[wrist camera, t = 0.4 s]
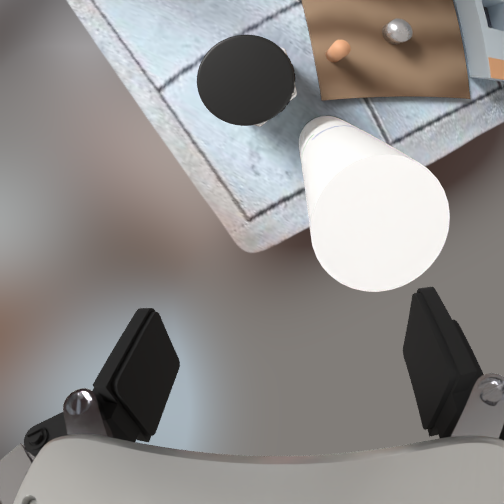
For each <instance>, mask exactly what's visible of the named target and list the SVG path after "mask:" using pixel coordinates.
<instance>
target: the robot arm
mask: <svg viewBox="0 0 504 504" xmlns="http://www.w3.org/2000/svg"><path fill="white" fill-rule="evenodd" d="M403 355H404V359H405V362H406V365H407V369H408V372H409V376H410V379H411V383H412V386H413V390H414V393H415V397H416V401H417V405H418V409H419V413H420V417H421V421H422V425H423V428H424V429H428V432H429V436H434V435H438V434H439V437H440V439H435V440H430V441H423V442H419V443H413V444H408V445H402V446H396V447H389V448H382V449H376V450H368V451H359V452H351V453H339V454H327V455H311V456H310V455H309V456H246V455H228V454H215V453H204V452H195V451H186V450H179V449H172V448H165V447H158V446H153V445H147V444H141V443H136V442H135V441H136V439H137V440H140V441H145V442H149V440H150V438H151V436H152V435H154V434H155V433H156V430H157V427H158V424H159V422H160V419H161V416H162V413H163V411H164V408H165V405H166V402H167V400H168V397H169V394H170V392H171V389H172V386H173V384H174V381H175V378H176V375H177V373H178V370H179V367H180V362H179V358H178V357H177V354H176V352H175V350H174V347H173V345H172V343H171V341H170V338H169V336H168V334H167V331H166V329H165V327H164V324H163V322H162V320H161V317H160V315H159V313H158V312H155V310H154V309H152V308H141V309H138V310H137V311H136V313H135V314H134V316H133V318H132V319H131V321H130V322H129V324H128V326H127V328H126V329H125V331H124V332H123V334H122V336H121V337H120V339H119V341H118V342H117V344H116V346H115V347H114V349H113V351H112V353H111V354H110V356H109V357H108V359H107V361H106V363H105V364H104V366H103V368H102V370H101V371H100V373H99V375H98V377H97V378H96V380H95V382H94V384H93V386H94V389H93V391H91V390H89V389H86V388H82V389H78V390H75V391H74V392H72V393H71V394H70V395H69V396H68V397H67V398H66V400H65V402H64V404H63V412H62V413H60V414H58V415H56V416H54V417H52V418H50V419H48V420H45V421H43V422H41V423H39V424H37V425H35V426H33V427H32V428H30V430H29V431H28V432H27V434H26V435H25V439H24V445H22V444H19V445H18V446H17V447H16V448H15V449H13V450H12V451H11V452H10V453H8V454H7V455H6V456H5V457H4V458H2V459H1V460H0V500H1V502H2V504H504V377H503V376H501V375H499V374H494V373H489V374H485V375H483V372H482V370H481V368H480V366H479V364H478V362H477V360H476V357H475V355H474V353H473V351H472V349H471V347H470V345H469V343H468V341H467V339H466V337H465V335H464V333H463V332H462V330H461V328H460V326H459V324H458V323H457V321H455V320H452V319H451V317H450V315H449V313H448V312H447V310H446V308H445V306H444V304H443V302H442V301H441V299H440V297H439V295H438V294H437V292H436V290H435V289H434V287H427V288H420V289H418V290H417V293H414V294H413V296H412V302H411V308H410V314H409V320H408V325H407V331H406V336H405V341H404V346H403Z"/></svg>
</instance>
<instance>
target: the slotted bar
mask: <svg viewBox="0 0 504 504" xmlns="http://www.w3.org/2000/svg"><path fill="white" fill-rule="evenodd" d="M455 3H456V7H457V11H458V15H459V19H460V24H461V28H462V33H463V38H464V43H465V48H466V54H467V60H468V67H469V74H470V77H472V78H480V79H488V80H495V81H501V82H504V0H455ZM483 7H487V10H488V14H489V18H490V22H491V26H492V28H489V27H488V24H487V20H486V16H485V12H484V8H483Z"/></svg>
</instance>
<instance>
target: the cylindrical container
mask: <svg viewBox="0 0 504 504" xmlns="http://www.w3.org/2000/svg"><path fill="white" fill-rule="evenodd" d="M299 151H300V158H301V165H302V171H303V178H304V185H305V192H306V200H307V207H308V215H309V223H310V231H311V239H312V246H313V248H314V251H315V254H316V257H317V259H318V260H319V262H320V264H321V265H322V267H323V268H324V269H325V270H326V271H327V272H328V274H329V275H330V276H332V277H333V278H334V279H336V280H337V281H338V282H340V283H342V284H344V285H346V286H348V287H350V288H353V289H358V290H362V291H374V292H378V291H386V290H391V289H394V288H398V287H400V286H403V285H405V284H407V283H409V282H411V281H413V280H414V279H416V278H417V277H419V276H420V275H421V274H423V273H424V272H425V271H426V270H427V269H428V268H429V267H430V266H431V264H432V263H433V262H434V261H435V259H436V258H437V257H438V255H439V254H440V251H441V250H442V248H443V245H444V243H445V241H446V237H447V233H448V230H449V219H450V214H449V205H448V201H447V198H446V195H445V192H444V189H443V188H442V186H441V185H440V183H439V181H438V179H437V178H436V177H435V176H434V175H433V174H432V173H431V172H430V171H429V170H428V169H427V168H426V167H424V166H423V165H421V164H420V163H418V162H417V161H415V160H414V159H412V158H410V157H409V156H407V155H405V154H404V153H402V152H400V151H399V150H397V149H395V148H393V147H392V146H390V145H388V144H386V143H385V142H383V141H381V140H379V139H378V138H376V137H374V136H372V135H370V134H368V133H367V132H365V131H363V130H361V129H359V128H357V127H355V126H353V125H351V124H349V123H347V122H345V121H343V120H341V119H339V118H337V117H333V116H320V117H317V118H315V119H313V120H311V121H310V122H308V123H307V124H306V125H305V127H304V128H303V129H302V131H301V133H300V137H299Z"/></svg>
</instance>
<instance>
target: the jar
mask: <svg viewBox="0 0 504 504" xmlns="http://www.w3.org/2000/svg"><path fill="white" fill-rule="evenodd" d="M197 87H198V92H199V95H200V98H201V100H202V102H203V103H204V105H205V106H206V108H207V109H208V110H209V111H210V112H211V113H212V114H213V115H215V116H216V117H217V118H219V119H221V120H223V121H225V122H227V123H230V124H234V125H241V126H249V125H256V126H262V125H263V124H265V123H266V122H267V121H268V120H270V119H271V118H273V117H275V116H276V115H277V114H278V113H280V112H282V111H283V110H284V109H285V107H286V105H288V103H289V102H290V101H291V100H292V99H293V98H294V97H295V96H296V95H297V91H296V87H295V73H294V68H293V65H292V64H291V61H290V59H289V58H288V56H287V53H286V50H285V49H284V48H280V47H279V46H278V45H276V44H275V43H273V42H272V41H270V40H268V39H266V38H263V37H260V36H255V35H237V36H233V37H230V38H227V39H225V40H223V41H221V42H219V43H217V44H216V45H215V46H213V47H212V48H211V49H210V50H209V51H208V52H207V54H206V55H205V56H204V58H203V60H202V62H201V64H200V66H199V70H198V74H197Z"/></svg>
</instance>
